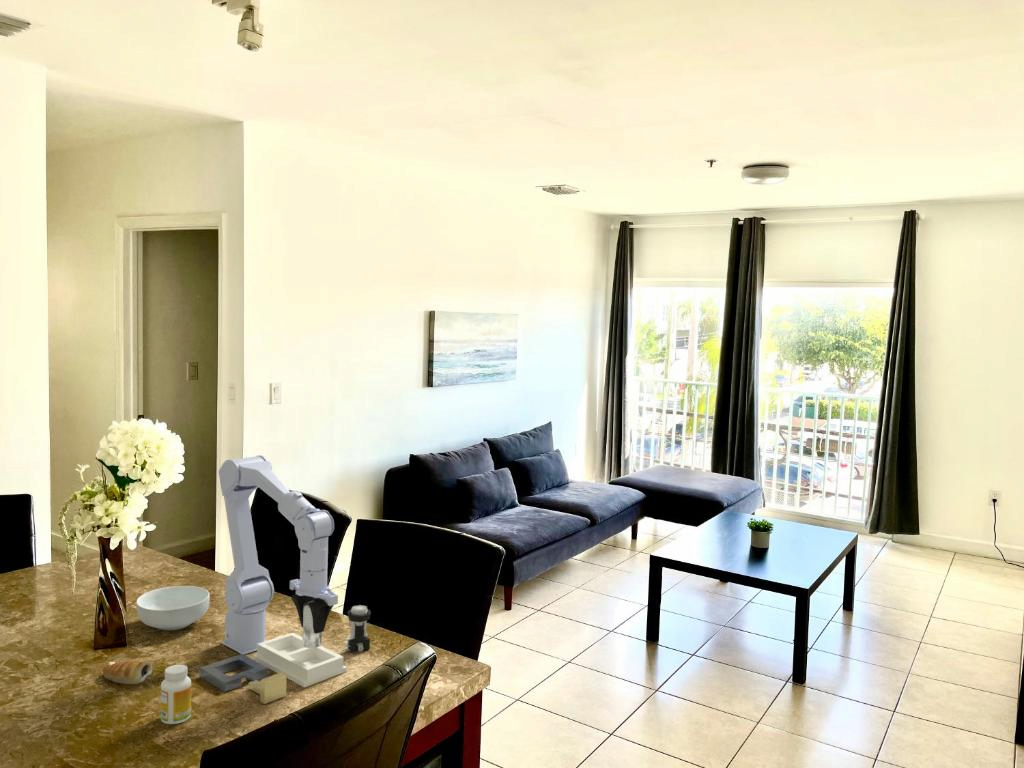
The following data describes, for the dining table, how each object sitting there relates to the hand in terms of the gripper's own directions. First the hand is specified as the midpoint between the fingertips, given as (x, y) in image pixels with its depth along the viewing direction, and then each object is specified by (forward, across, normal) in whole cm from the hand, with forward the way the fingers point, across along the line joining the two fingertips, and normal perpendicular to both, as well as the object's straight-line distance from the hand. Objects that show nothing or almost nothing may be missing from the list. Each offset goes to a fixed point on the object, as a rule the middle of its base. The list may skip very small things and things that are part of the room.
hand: (312, 629), depth 176 cm
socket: (+10, -9, -13) cm, 19 cm away
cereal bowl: (+10, -45, -8) cm, 47 cm away
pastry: (+10, -24, -28) cm, 39 cm away
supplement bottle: (+10, -1, -30) cm, 32 cm away
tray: (+10, -4, 0) cm, 11 cm away
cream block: (+9, +2, -13) cm, 16 cm away
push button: (+10, -2, +14) cm, 17 cm away
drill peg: (+3, 0, 0) cm, 3 cm away
